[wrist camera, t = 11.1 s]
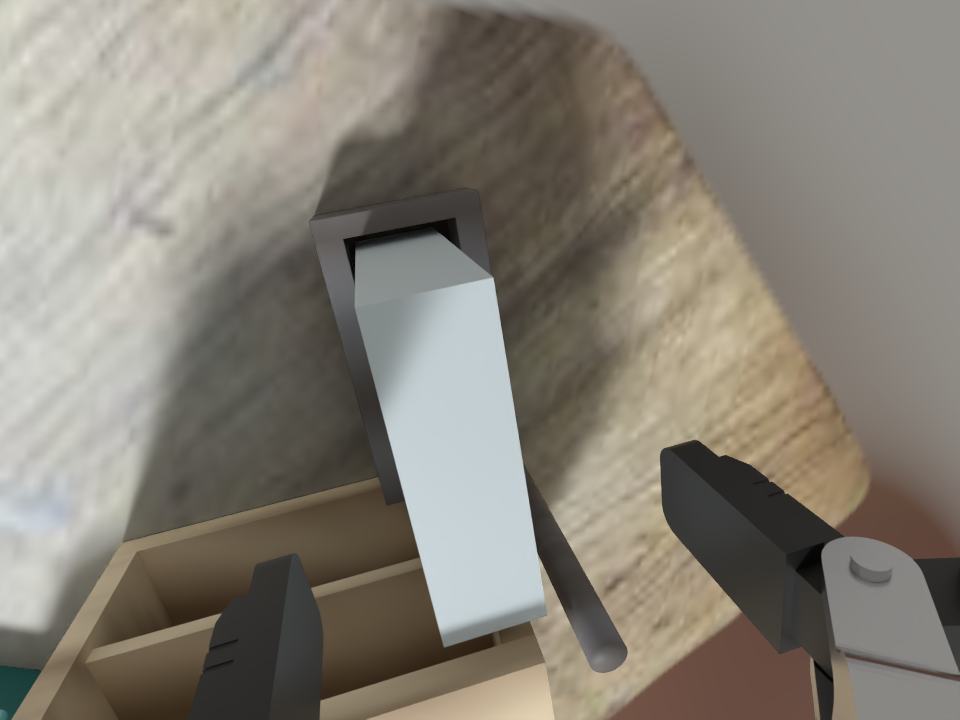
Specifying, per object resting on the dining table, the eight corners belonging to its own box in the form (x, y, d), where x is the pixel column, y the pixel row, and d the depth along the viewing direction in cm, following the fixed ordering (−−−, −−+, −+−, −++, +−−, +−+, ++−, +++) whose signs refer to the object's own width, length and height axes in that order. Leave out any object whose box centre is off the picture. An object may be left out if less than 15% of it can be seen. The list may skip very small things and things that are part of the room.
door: (355, 242, 22) (354, 307, 12) (448, 223, 23) (522, 270, 12) (409, 459, 26) (443, 647, 16) (487, 439, 26) (568, 608, 16)
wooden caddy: (-15, 276, 20) (-494, 419, 9) (474, 185, 22) (591, 206, 11) (199, 695, 28) (96, 1044, 17) (539, 593, 30) (642, 837, 19)
